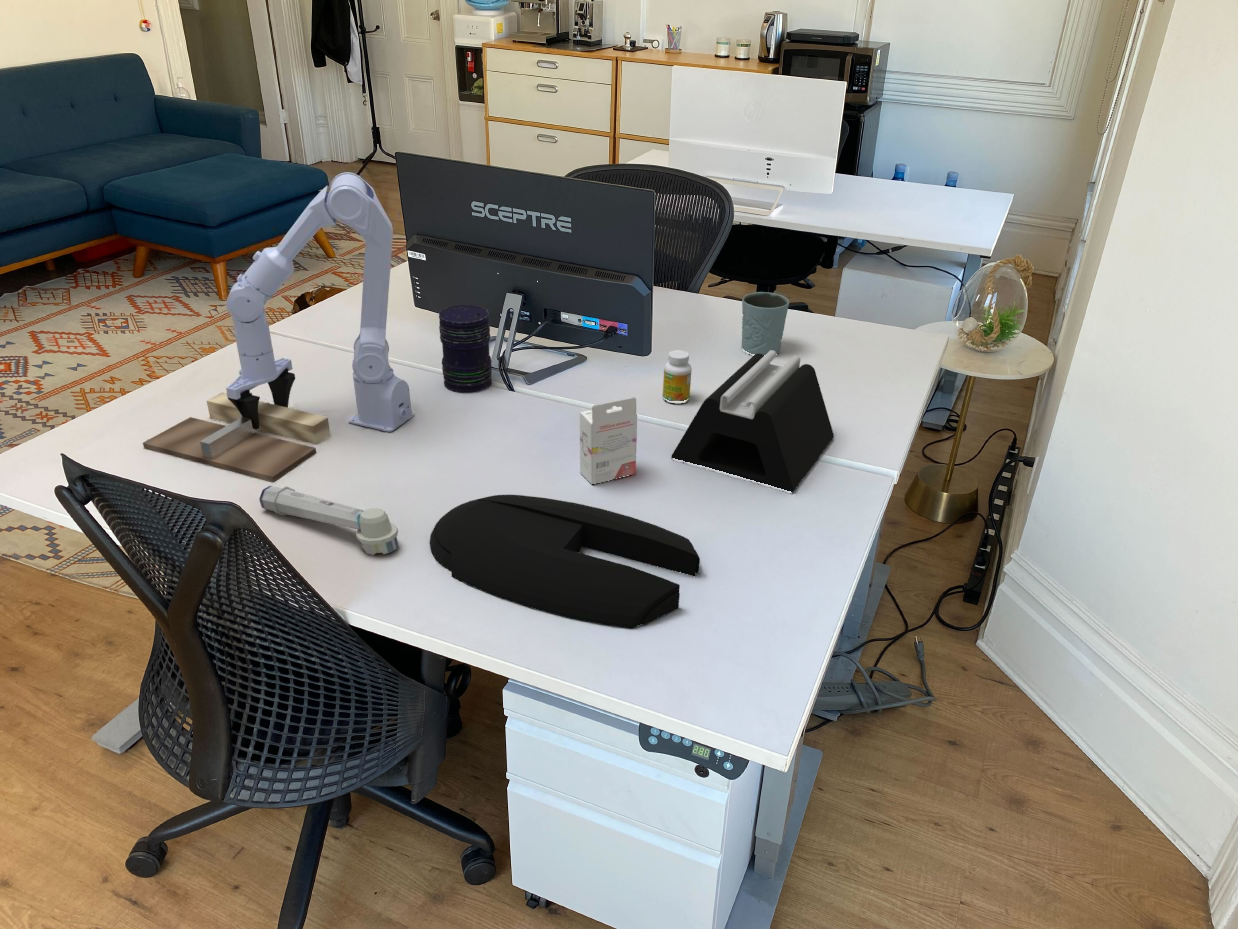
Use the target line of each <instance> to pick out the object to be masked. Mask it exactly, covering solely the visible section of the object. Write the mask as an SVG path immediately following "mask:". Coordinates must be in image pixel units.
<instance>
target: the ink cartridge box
mask: <svg viewBox="0 0 1238 929" xmlns="http://www.w3.org/2000/svg"><path fill="white" fill-rule="evenodd" d="M637 436H638V414H637V398H636V397H634V396H633V397H629V398H624V399H619V400H613V401H608V402H604V403H601V404H600V403H599V404H594V405H593V406H592V407H591V409H590V410H589V409H588V410H585V411H580V412H579V473H580V474H582V475H583V476H584V477H585V478H586V479H587V480H588V481H589V482H590V483H591V484H595V483H600V484H602V483H601V482H604V483H606V482H605V481H608V480H611V479H616V478H619V477H623V476H627V475H632V474H635V475H636V474H637V468H636V467H637V442H638V441H637V440H638V439H637V438H638V437H637ZM582 475H581V476H582ZM583 476H582V477H583ZM632 476H633V475H632ZM584 477H583V478H584ZM585 478H584V479H585ZM586 479H585V480H586ZM616 480H617V479H616ZM588 481H587V482H588ZM589 482H588V483H589ZM608 482H609V481H608ZM590 483H589V484H590ZM591 484H590V485H591Z"/></svg>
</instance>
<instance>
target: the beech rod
mask: <svg viewBox="0 0 1238 929" xmlns="http://www.w3.org/2000/svg"><path fill="white" fill-rule="evenodd" d="M206 405H207V410H208V414H209V419H210V418H211V419H210V420H214V419H215V421H217V422H218V421H219V422H222V421H223V422H222V423H226V422H227V423H226V424H231V423H233V422H234V421H236V420H238V419H240V418H241V417H242V415H241V414H240V412H239V411H238V409H237V408H236V407H235V406H234V404H233V403H232V402H231V401H230V400H229V399H228V397H227V392H221V393H218V394H216V395H214V396H213V397H211V398H208V399H207V400H206ZM258 417H259V429H257V430H256V431H260V432H263V433H265V434H266V433H267V434H272V435H275V436H279V437H283V438H286V439H291V440H295V441H299V442H302V443H308V444H312V445H319V444H320V443H321V442H323V441H324V440H325V439H327V438H328V437H329V438H330V436H331V430H330V422H329V417H328V416H325V415H321V414H316V413H313V412H308V411H303V410H299V409H295V408H290V407H288V408H287V407H283V406H278V405H274V403H273V404H272V403H269V402H265V401H261V400H259V404H258Z"/></svg>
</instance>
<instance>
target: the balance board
mask: <svg viewBox="0 0 1238 929" xmlns="http://www.w3.org/2000/svg"><path fill="white" fill-rule="evenodd" d="M226 426H227V425H224V424H220V423H216V422H212V421H208V420H203V419H199V418H196V417H193V416H192V417H191V416H190V417H188V418H186V419H184V420H182V421H180V422H179V423H177V424H175V425H173V426H171V427H169V428H167V429H166V430H164V431H161V432H160V433H158V434H156V435H155V436H153V437H151V438H149V439H147V440H145V441H144V442H142V445H143V449H147V450H151V451H155V452H158V453H162V454H165V455H170V456H173V457H177V458H181V459H185V460H189V461H191V462H192V461H193V462H196V463H200V464H203V465H207V466H211V467H214V468H219V469H222V470H226V471H230V472H233V473H238V474H241V475H245V476H249V477H252V478H257V479H260V480H264V481H268V482H271V483H275V482H276V481H277V480H279V479H281V478H282V477H283V476H285V475H287V474H288V473H289V472H290V471H292V470H294V469H295V468H297V467H298V466H300V465H301V464H303V463H304V462H305V461H307V460H308V459H309V458H311V457H312V456H314V455H316V454H317V448H316V447H314V446H309V445H306V444H301V443H297V442H294V441H289V440H285V439H281V438H277V437H273V436H268V435H266V434H265V435H264V434H261V433H256V432H253V433H254V435H252V436H250V437H249V438H247V439H245V440H244V441H242V442H240V443H239V444H237V445H235V446H234V447H232V448H230V449H229V450H227V451H226V452H224V453H222V454H221V455H219V456H217V457H216V458H214V459H209V458H206V457H203V453H202V449H201V444H200V441H201V440H203V439H205V438H207V437H208V436H210V435H212V434H213V433H215V432H217V431H219V430H220V429H222V428H224V427H226Z"/></svg>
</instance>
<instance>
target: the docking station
mask: <svg viewBox="0 0 1238 929" xmlns="http://www.w3.org/2000/svg"><path fill="white" fill-rule="evenodd" d="M429 547H430V552H431V554H432V555H433V557H434V559H435V560H436V562H438V563H439V564H440V565H442V566H443V567H444V568H446V569H448V570H450V571H451V577H452V578H455V579H456V580H458V581H460V582H462V583H464V584H466V585H467V586H470V587H472V588H475V589H477V590H479V591H482V592H485V593H487V594H489V595H492V596H494V597H497V598H499V599H503V600H505V601H509V602H511V603H515V604H518V605H521V606H524V607H527V608H530V609H533V610H537V611H541V612H545V613H547V614H548V613H549V614H551V615H552V614H553V615H556V616H561V617H564V618H568V619H572V620H576V621H577V620H578V621H583V622H586V623H588V622H589V623H593V624H598V625H603V626H609V627H616V628H622V629H623V628H624V629H635V628H637V627H639V626H641V625H642V626H643V625H644V626H646V625H648V624H651V623H652V622H654V621H656V620H658V619H660V618H662V617H664V616H666V615H668V614H670V613H673V612H675V611H677V610H679V608H680V607H679V606H680V594H681V593H680V588H681V585H680V584H679V583H676V582H674V581H671V580H669V579H666V578H664V577H661V576H658V575H656V574H652V573H650V572H647V571H645V570H641V569H638V568H635V567H633V566H630V565H626V564H623V563H618V562H615V561H611V560H607V559H604V558H599V557H597V556H592V555H589V554H585V553H581V552H579V551H580V550H581V548H585V549H589V550H593V551H595V552H596V551H597V552H599V553H600V552H601V553H604V554H607V555H611V556H616V557H619V558H622V557H623V559H626V560H630V561H634V562H637V563H638V562H639V563H641V562H642V564H645V563H646V564H645V565H649V564H650V566H653V567H657V566H658V567H657V568H660V567H661V569H664V568H665V570H668V571H672V570H673V571H672V572H675V571H676V573H679V572H681V573H680V574H683V573H684V574H683V575H687V574H688V575H687V576H690V577H694V576H695V578H696V575H697V574H698V575H699V574H700V563H701V558H700V556H699V554H698V552H697V551H696V549H695V547H694V545H693V543H692V542H691V540H690V539H689V538H687V537H685V536H684V535H681V534H678V533H675V532H673V531H671V530H669V529H666V528H664V527H662V526H659V525H655V524H652V523H650V522H646V521H644V520H641V519H638V518H635V517H632V516H629V515H625V514H623V513H618V512H615V511H610V510H609V509H608V510H607V509H604V508H599V507H594V506H589V505H585V504H581V503H577V502H571V501H566V500H560V499H553V498H547V497H542V496H541V497H540V496H539V497H538V496H532V495H530V496H529V495H523V494H521V495H520V494H497V495H495V494H494V495H490V496H484V497H481V498H477V499H472V500H469V501H466V502H463V503H461V504H459V505H457V506H456V507H453V508H452V509H450V510H449V511H447V513H445V514H444V515H443V516H441V517H440V518H439V520H438V521H437V522H436V523H435V525H434V527H433V529H432V531H431V533H430V536H429Z"/></svg>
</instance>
